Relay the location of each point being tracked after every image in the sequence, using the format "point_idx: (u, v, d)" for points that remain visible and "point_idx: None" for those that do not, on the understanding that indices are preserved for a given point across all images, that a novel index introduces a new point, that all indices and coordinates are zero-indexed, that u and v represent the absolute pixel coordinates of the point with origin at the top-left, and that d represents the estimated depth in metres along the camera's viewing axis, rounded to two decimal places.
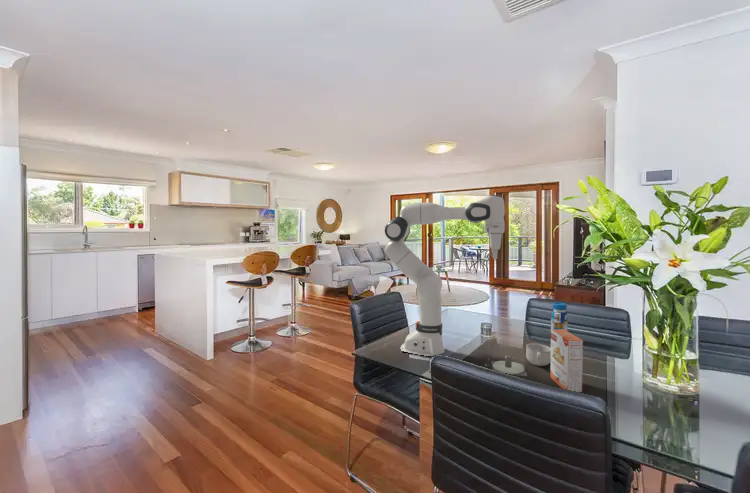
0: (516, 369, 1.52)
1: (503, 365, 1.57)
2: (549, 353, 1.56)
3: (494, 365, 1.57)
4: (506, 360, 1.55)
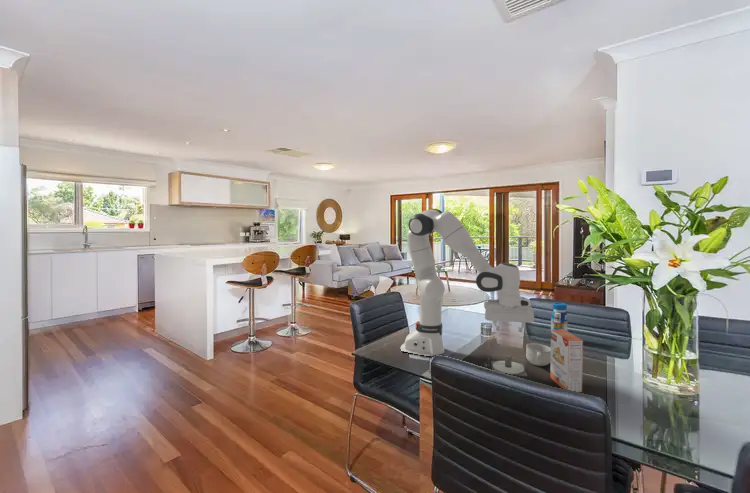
0: (516, 369, 1.52)
1: (503, 365, 1.57)
2: (549, 353, 1.56)
3: (494, 365, 1.57)
4: (506, 360, 1.55)
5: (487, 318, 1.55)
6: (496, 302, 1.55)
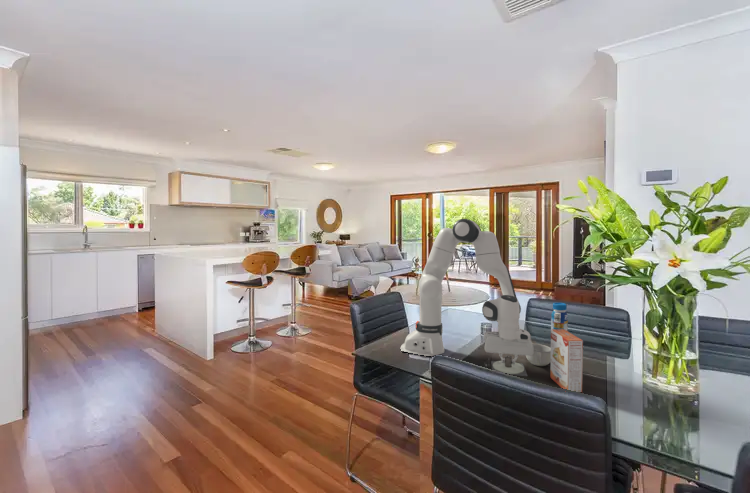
0: (516, 369, 1.52)
1: (503, 365, 1.57)
2: (549, 353, 1.56)
3: (494, 365, 1.57)
4: (506, 360, 1.55)
5: (487, 350, 1.56)
6: (496, 334, 1.56)
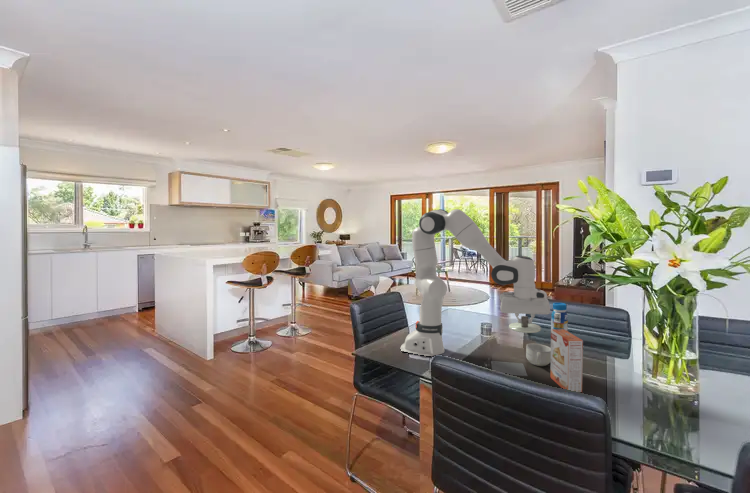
0: (533, 328, 1.53)
1: (519, 326, 1.57)
2: (549, 353, 1.56)
3: (510, 326, 1.57)
4: (522, 320, 1.55)
5: (503, 311, 1.56)
6: (512, 295, 1.56)
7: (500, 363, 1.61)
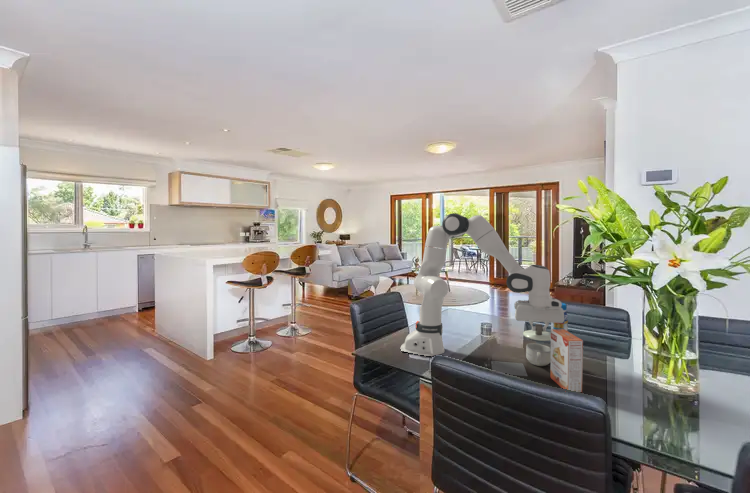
0: (547, 336, 1.56)
1: (533, 333, 1.60)
2: (549, 353, 1.56)
3: (525, 333, 1.60)
4: (537, 328, 1.58)
5: (518, 318, 1.59)
6: (526, 303, 1.59)
7: (500, 363, 1.61)
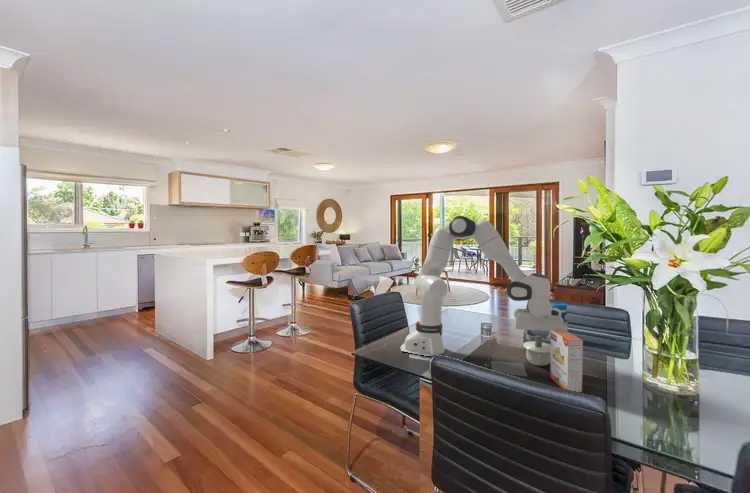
0: (547, 348, 1.56)
1: (533, 345, 1.60)
2: (549, 353, 1.56)
3: (524, 345, 1.61)
4: (537, 340, 1.59)
5: (517, 327, 1.60)
6: (526, 311, 1.59)
7: (500, 363, 1.61)
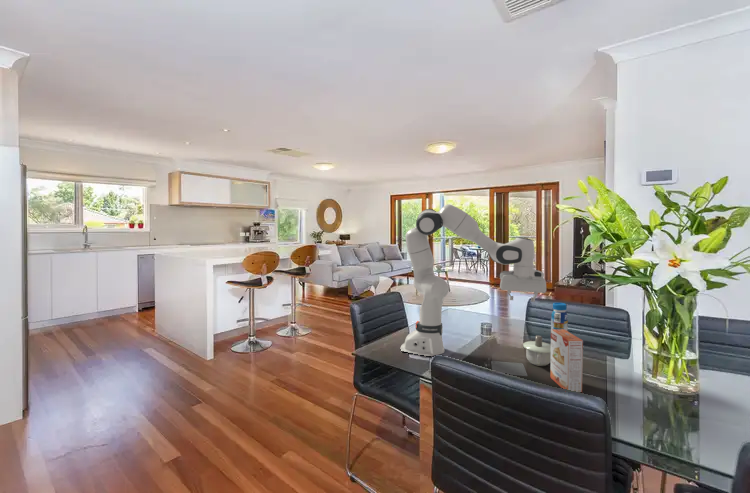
0: (547, 348, 1.56)
1: (533, 345, 1.61)
2: (549, 353, 1.56)
3: (525, 345, 1.61)
4: (537, 340, 1.59)
5: (502, 288, 1.68)
6: (511, 273, 1.67)
7: (500, 363, 1.61)
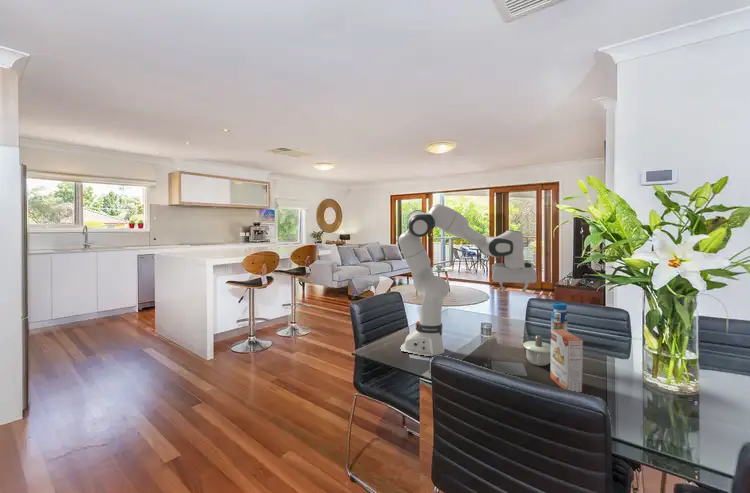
0: (547, 348, 1.56)
1: (533, 345, 1.61)
2: (549, 353, 1.56)
3: (525, 345, 1.61)
4: (537, 340, 1.59)
5: (494, 280, 1.73)
6: (502, 265, 1.72)
7: (500, 363, 1.61)
